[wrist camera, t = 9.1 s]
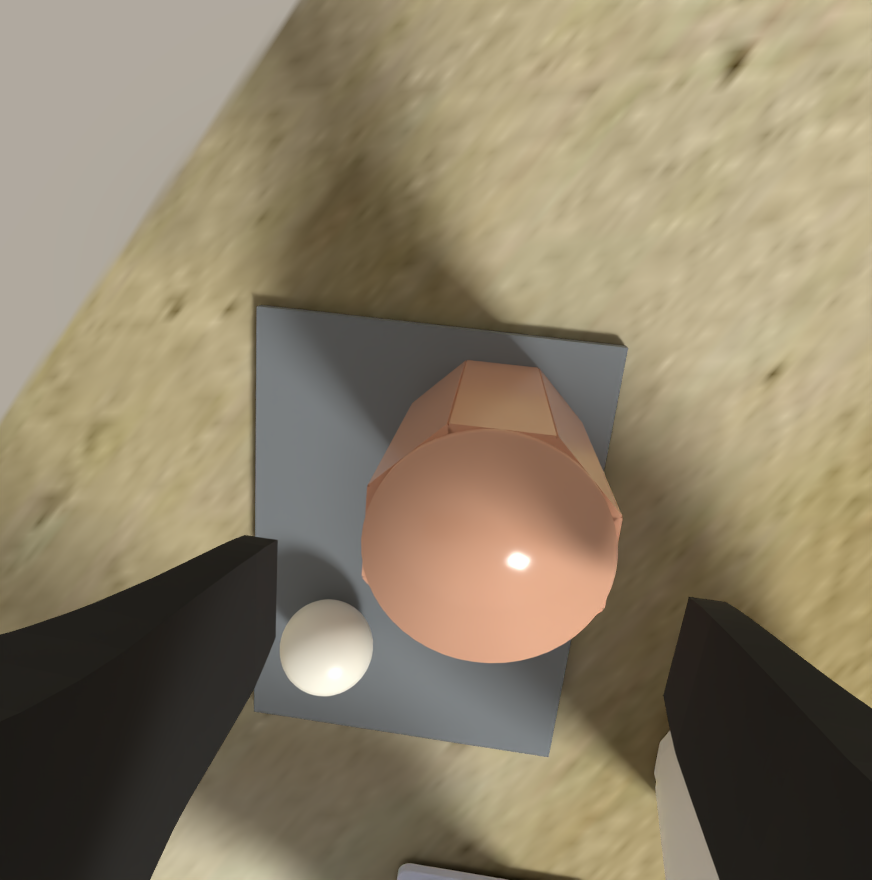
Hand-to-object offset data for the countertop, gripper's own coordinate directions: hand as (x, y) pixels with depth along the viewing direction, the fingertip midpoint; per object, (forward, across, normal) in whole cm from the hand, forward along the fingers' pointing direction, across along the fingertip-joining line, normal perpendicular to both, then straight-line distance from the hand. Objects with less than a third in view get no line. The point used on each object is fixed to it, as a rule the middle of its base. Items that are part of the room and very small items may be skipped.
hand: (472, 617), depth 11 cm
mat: (+9, +2, +4) cm, 10 cm away
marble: (+9, +4, +7) cm, 12 cm away
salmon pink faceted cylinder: (+9, 0, 0) cm, 9 cm away
